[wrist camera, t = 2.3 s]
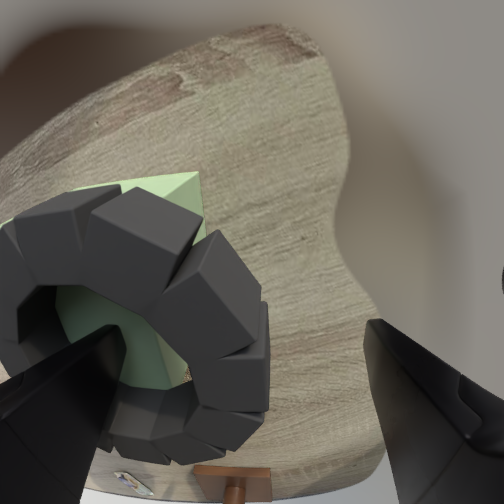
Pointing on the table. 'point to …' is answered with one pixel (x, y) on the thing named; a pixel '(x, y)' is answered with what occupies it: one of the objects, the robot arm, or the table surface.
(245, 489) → the stand
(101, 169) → the table surface
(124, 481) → the granola bar
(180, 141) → the table surface
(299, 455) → the table surface
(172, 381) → the riser box
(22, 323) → the chunky treaded tire
